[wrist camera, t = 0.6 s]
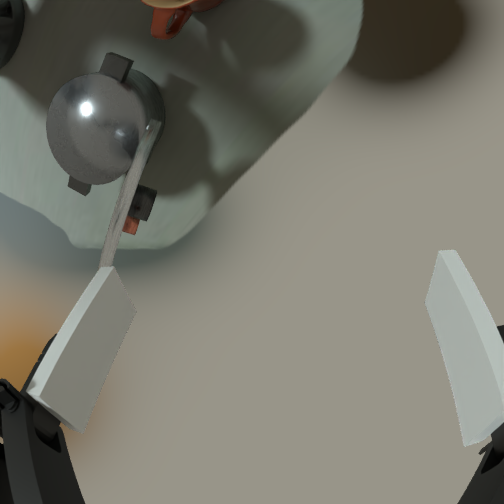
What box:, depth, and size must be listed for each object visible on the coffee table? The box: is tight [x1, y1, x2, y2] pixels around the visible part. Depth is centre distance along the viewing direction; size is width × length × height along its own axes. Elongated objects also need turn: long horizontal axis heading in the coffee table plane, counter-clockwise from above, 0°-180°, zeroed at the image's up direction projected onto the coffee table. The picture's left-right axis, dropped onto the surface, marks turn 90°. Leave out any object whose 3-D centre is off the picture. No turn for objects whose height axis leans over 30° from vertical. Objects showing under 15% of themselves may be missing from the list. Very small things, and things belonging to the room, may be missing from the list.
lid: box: [98, 119, 162, 271], centre depth 27 cm, size 15×15×3 cm
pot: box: [46, 52, 165, 196], centre depth 34 cm, size 15×19×8 cm
